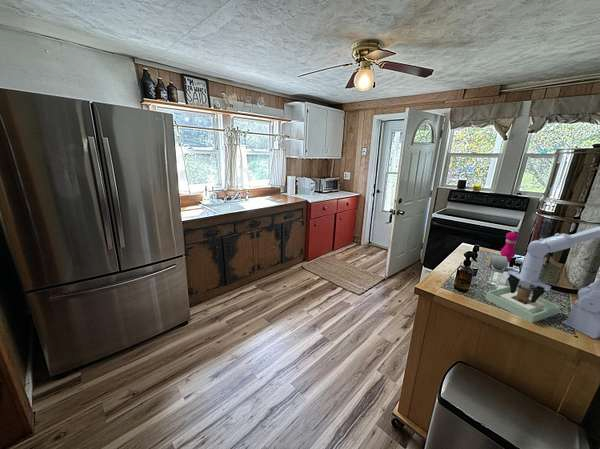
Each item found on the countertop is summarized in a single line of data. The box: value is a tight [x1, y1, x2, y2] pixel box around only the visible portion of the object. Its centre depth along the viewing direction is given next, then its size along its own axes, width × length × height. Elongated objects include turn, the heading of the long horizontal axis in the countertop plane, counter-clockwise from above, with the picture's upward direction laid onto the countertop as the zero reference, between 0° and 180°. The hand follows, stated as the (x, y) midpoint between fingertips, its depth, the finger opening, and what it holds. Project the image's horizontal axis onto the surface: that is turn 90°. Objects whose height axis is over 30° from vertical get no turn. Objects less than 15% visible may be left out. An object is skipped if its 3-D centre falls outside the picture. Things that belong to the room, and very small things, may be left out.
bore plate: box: [499, 291, 545, 314], centre depth 108 cm, size 11×11×3 cm
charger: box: [501, 271, 531, 289], centre depth 130 cm, size 5×9×15 cm
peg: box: [516, 287, 532, 305], centre depth 108 cm, size 4×4×8 cm
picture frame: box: [484, 285, 562, 324], centre depth 108 cm, size 18×18×4 cm
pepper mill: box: [499, 229, 519, 263], centre depth 155 cm, size 7×7×20 cm
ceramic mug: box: [487, 254, 509, 273], centre depth 145 cm, size 11×8×8 cm
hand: (522, 297), depth 108 cm, fingers open, 7 cm apart
